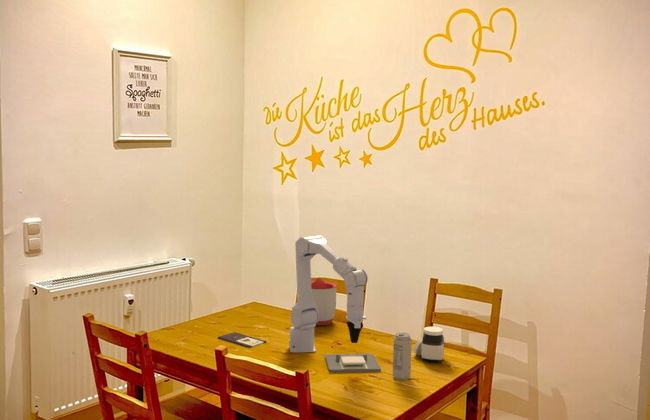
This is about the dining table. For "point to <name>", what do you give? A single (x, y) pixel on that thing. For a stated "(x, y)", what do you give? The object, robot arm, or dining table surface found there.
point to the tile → (353, 360)
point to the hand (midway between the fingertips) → (354, 342)
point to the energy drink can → (402, 356)
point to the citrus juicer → (324, 300)
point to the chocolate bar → (242, 339)
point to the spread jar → (431, 345)
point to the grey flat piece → (337, 365)
